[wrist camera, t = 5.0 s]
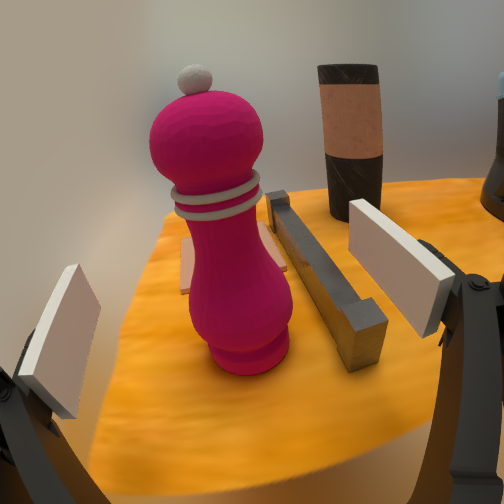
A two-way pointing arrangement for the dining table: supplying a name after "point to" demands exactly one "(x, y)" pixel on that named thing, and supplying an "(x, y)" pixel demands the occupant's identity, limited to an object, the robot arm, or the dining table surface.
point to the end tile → (189, 256)
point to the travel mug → (351, 135)
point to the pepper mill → (223, 223)
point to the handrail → (329, 288)
